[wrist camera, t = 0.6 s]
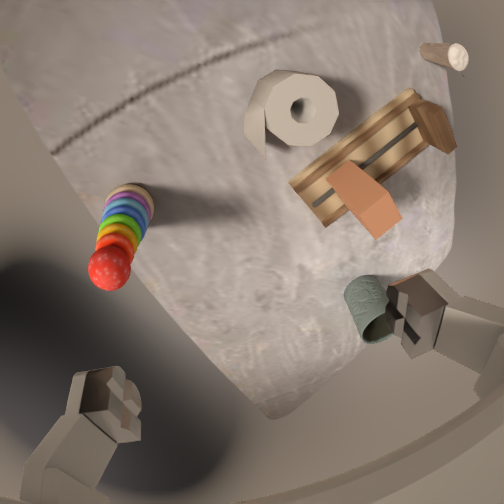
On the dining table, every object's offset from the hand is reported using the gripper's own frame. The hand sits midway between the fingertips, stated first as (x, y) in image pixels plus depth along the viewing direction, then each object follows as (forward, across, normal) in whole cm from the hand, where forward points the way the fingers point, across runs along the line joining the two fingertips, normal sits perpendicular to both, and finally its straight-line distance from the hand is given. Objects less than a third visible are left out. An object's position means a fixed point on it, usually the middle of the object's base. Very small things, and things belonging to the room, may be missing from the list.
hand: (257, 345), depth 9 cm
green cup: (+43, -25, +40) cm, 64 cm away
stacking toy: (+41, +13, +7) cm, 44 cm away
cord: (+38, -25, +10) cm, 47 cm away
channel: (+40, -26, +9) cm, 48 cm away
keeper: (+39, -21, +12) cm, 45 cm away
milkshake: (+38, -40, -8) cm, 55 cm away
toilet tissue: (+39, -12, -2) cm, 41 cm away
